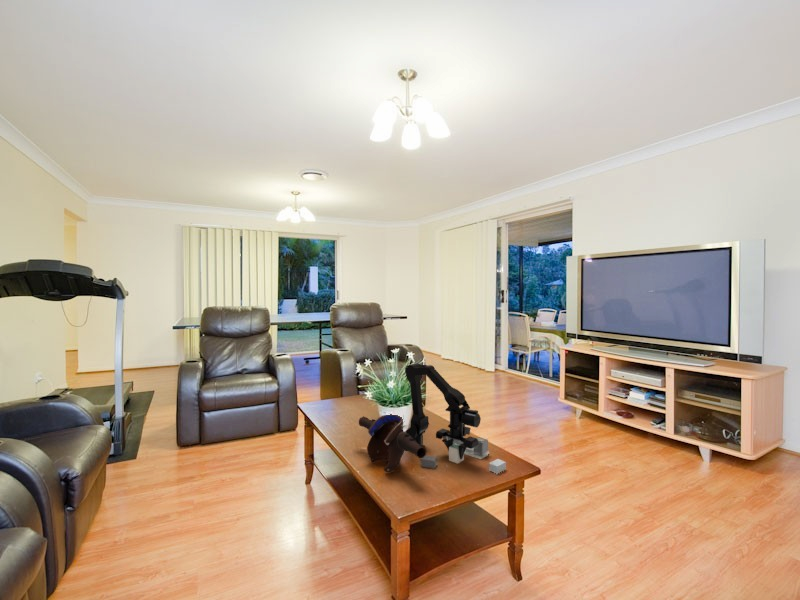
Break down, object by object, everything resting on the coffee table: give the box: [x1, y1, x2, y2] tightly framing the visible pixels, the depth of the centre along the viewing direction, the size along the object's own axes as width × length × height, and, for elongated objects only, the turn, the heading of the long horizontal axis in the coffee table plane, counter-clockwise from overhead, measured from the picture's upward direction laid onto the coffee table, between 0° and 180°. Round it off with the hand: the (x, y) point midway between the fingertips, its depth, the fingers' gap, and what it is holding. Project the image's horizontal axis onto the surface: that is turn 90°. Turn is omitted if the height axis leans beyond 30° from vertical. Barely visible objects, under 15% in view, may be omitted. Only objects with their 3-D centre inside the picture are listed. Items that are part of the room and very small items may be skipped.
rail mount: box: [453, 436, 490, 460], centre depth 176 cm, size 7×17×7 cm, turn 49°
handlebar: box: [358, 414, 427, 473], centre depth 163 cm, size 45×13×20 cm, turn 37°
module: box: [448, 444, 465, 464], centre depth 167 cm, size 5×5×6 cm
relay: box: [420, 454, 438, 470], centre depth 162 cm, size 4×6×4 cm, turn 71°
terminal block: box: [488, 458, 507, 475], centre depth 158 cm, size 6×4×4 cm, turn 129°
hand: (456, 457), depth 168 cm, fingers closed on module, 4 cm apart
